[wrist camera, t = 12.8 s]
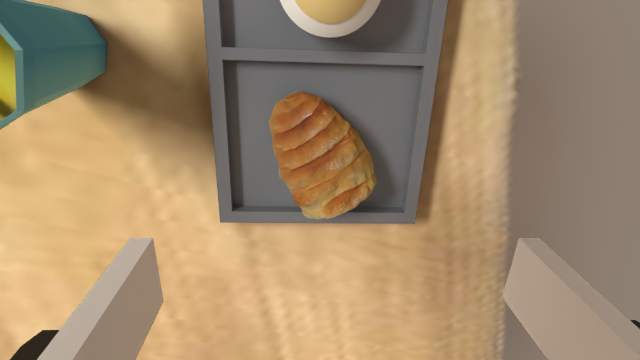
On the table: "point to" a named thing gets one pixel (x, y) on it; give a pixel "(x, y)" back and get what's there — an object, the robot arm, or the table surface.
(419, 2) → the serving board
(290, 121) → the pastry
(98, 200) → the table surface
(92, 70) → the cup
